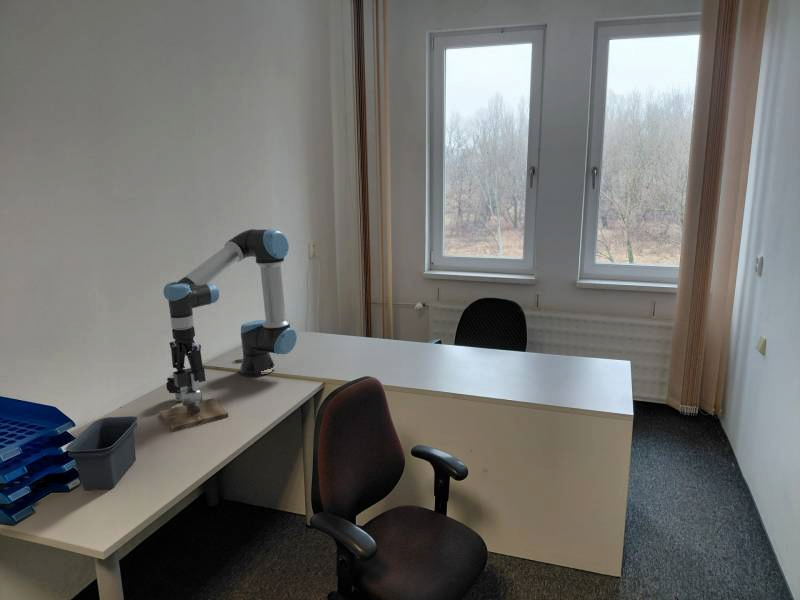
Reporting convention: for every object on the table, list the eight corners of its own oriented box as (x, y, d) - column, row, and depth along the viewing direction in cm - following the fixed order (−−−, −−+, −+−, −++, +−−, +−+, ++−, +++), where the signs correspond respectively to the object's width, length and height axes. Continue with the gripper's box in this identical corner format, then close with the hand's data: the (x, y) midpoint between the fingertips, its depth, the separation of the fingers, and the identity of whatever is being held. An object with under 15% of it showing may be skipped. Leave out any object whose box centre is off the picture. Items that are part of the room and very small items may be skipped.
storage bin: (117, 494, 157) (110, 448, 154) (61, 497, 156) (53, 450, 153) (147, 457, 178) (141, 415, 175) (98, 459, 177) (91, 417, 174)
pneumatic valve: (195, 394, 228) (192, 366, 226) (179, 406, 217) (175, 377, 214) (183, 394, 229) (179, 366, 227) (166, 405, 218) (162, 376, 215)
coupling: (174, 402, 207) (169, 370, 204) (200, 394, 214) (196, 363, 211) (184, 410, 200) (180, 377, 197) (211, 402, 206) (207, 370, 203)
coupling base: (213, 401, 221) (212, 389, 220) (228, 416, 206) (227, 404, 205) (160, 414, 210) (158, 402, 208) (172, 431, 195) (170, 418, 194)
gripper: (209, 327, 199) (216, 388, 204) (173, 322, 208) (180, 380, 213) (193, 332, 193) (200, 395, 198) (156, 327, 201) (164, 387, 206)
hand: (190, 387), depth 205 cm, fingers closed on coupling, 5 cm apart
